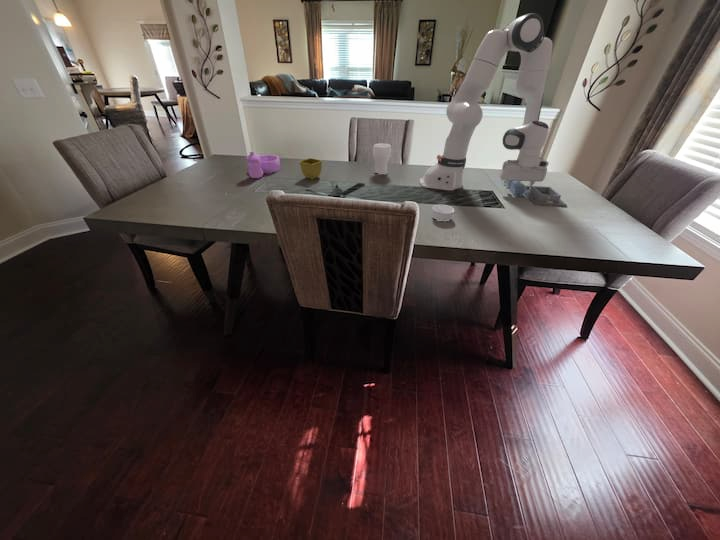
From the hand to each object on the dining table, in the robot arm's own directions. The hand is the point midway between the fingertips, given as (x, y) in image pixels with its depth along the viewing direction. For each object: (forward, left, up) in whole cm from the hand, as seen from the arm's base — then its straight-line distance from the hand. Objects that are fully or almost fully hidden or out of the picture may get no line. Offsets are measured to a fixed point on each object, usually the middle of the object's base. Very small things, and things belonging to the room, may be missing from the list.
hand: (517, 189), depth 140 cm
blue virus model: (+2, +14, -2) cm, 14 cm away
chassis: (+11, -5, -2) cm, 12 cm away
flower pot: (-106, +8, -2) cm, 107 cm away
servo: (0, 0, -2) cm, 2 cm away
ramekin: (-41, -34, -2) cm, 53 cm away
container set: (-136, +13, -2) cm, 137 cm away
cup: (-69, +22, -2) cm, 72 cm away
